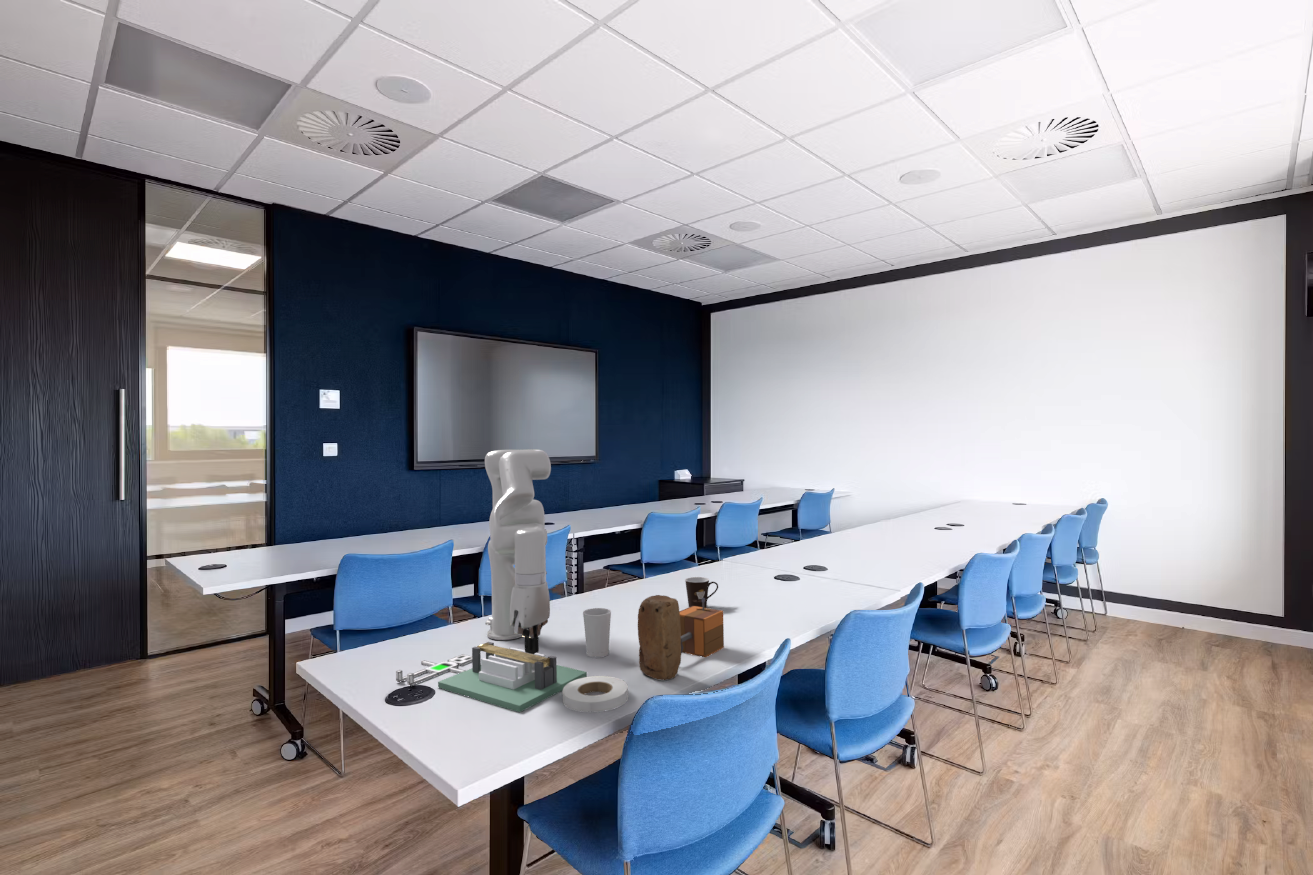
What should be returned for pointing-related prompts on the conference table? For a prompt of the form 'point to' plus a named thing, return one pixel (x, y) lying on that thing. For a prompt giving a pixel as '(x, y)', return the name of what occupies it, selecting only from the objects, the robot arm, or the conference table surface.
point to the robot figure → (435, 669)
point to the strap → (513, 654)
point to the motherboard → (510, 680)
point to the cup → (597, 631)
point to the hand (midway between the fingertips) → (531, 652)
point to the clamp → (701, 630)
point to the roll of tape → (593, 703)
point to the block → (659, 637)
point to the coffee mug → (698, 590)
